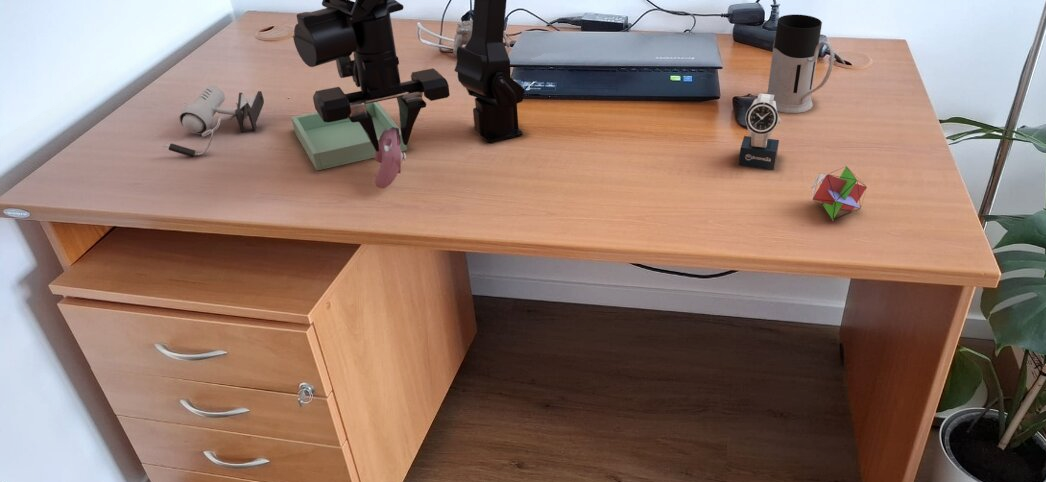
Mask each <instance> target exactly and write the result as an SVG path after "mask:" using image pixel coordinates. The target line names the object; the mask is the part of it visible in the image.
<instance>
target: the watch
mask: <svg viewBox="0 0 1046 482" xmlns="http://www.w3.org/2000/svg"><path fill="white" fill-rule="evenodd" d="M773 100H774V95H770V94H767V93H758V95H757V98H754V99H753V102H752V104H751V105H750V107H749V108H748V109H747V111H746V114H745V124H746V128H747V133H748V135H744V136H743V138H742V142H741V145H740V149H739V158H738V166H740V167H741V166H742V167H749V168H755V169H765V170H772V171H774V170H775V166H776V162H777V158H778V151H779V144H780V140H779V139H773V138H771V137H772V135H773V132H774V131H775V129H776V127H777V126H778V124H781V123H782V118H780V117H779V113H778V112H779V111H777V109H776V103H775V101H773Z"/></svg>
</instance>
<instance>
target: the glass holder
mask: <svg viewBox="0 0 1046 482" xmlns="http://www.w3.org/2000/svg"><path fill="white" fill-rule="evenodd" d="M822 25H823V21H822V20H821V19H820V18H817V17H815V16H811V15H808V14H807V15H806V14H785V15H782V16H779V17H778V18H777V22H776V30H775V37H774V39H773V44H772V53H771V61H770V69H769V78H768V85H767V93H766V94H770V95H774V100H773V101H775V103H776V109H777V112H779V113H786V114H801V113H804V112H807V111H810V110H811V109H812V108H813V107H814V106H813V101H812V94H813V93H815V92H817V91H818V90H819V89H821V88H822V87H824V86H825V84H826V83H827V82H828V80H829V78H830V76H831V74H832V71H833V67H834V63H835V49H834V46H833V45H832V44H831V43H830V42H829V41H820V39H821V33H822V27H823V26H822ZM823 45H825V46H826V47H827V48H828V51H829V55H830V57H829V63H828V68H827V71H826V74H825V76H824V78H823V79H822V81H821V82H820V84H818V86H816V87H814V82H815V76H816V71H817V69H816V68H817V64H818V57H819V53H820V50H821V47H822V46H823Z"/></svg>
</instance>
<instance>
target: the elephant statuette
mask: <svg viewBox="0 0 1046 482" xmlns="http://www.w3.org/2000/svg"><path fill="white" fill-rule="evenodd" d="M456 25H457V27H456V29H455V35H454V39H453V48H452V54H453V56H454V57H456V58H457V48H458V47H459V46H460V47H463V45H465V46H466V44H467V43H468V41H469V40H470V38H471V35H472V25H473V19H469V20H463V21H461V22H459V23H457V24H456ZM503 40H504V42H505V43H504V44H505V47H507V48H510V46H511V43H510V41H509V39H508V36H507V35H506V32H504V34H503Z"/></svg>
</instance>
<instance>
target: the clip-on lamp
mask: <svg viewBox="0 0 1046 482" xmlns="http://www.w3.org/2000/svg"><path fill="white" fill-rule="evenodd" d="M225 98H226V97H225V93H224V91H223V90H222V89H221V88H220V87H218V86H217V85H216V86H215V85H208V86H206V87H205V88H204V89H203V90H202V91H201V93H200V94H199V95H198V97H196V98H195V101H193V103H190V104H187V105H185V106H184V107H183V108H182V109H181V110H180V112H179V116H178V119H179V123H180V125H181V126H182V127H183V128H184V129H185V130H186V131H187V132H189V133H192V134H195V135H201V137H202V138H204V137H207V136H209V135H210V139H209V141H208V144H207V146H206V148H205V149H204V150H203V151H202V152H196V150H195V149H191V148H188V147H185V146H181V145H178V144H175V143H172V142H171V143H170V144H163V147H164V148H168V151H170V152H173V153H178V154H181V155H184V156H188V157H191V158H194V157H195V156H201V155H204V154H205V153H206V152H207V150H208V149H209V147H210V145H211V143H212V140H213V137H214V132H216V131H217V130H218V128H220V125H221V121H222V120H223V121H231V120H234V119H235V118H236V122H237V124H238V127H239V130H240V133H245V125H244V121H245V120H246V119H247V118H248V120H249V123H250V126H251V129H252V131H253V132H256V131H257V128H258V125H257V121H258V119H259V117H260V114H261V111H262V109H263V107H264V104H265V99H264V96H263V92H262V91H261V90H258V91H257V94H255V95H253V96H252V97H250V98H247V97H246V96H245V95H244V94H243V92H238V100H237V102H235V105H236V109H233V108H224V107H221V106H222V104H223V103H224V102H225V100H226V99H225ZM216 113H218V114H221V115H229V116H219V117H218V119H217V123H216V126H214V127H213V124H214V116H215V115H216ZM212 127H213V128H212Z"/></svg>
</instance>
